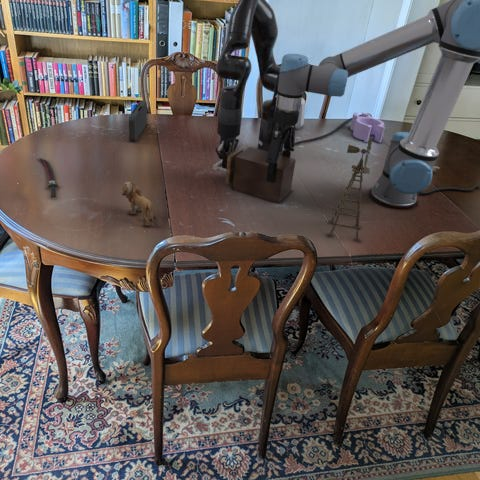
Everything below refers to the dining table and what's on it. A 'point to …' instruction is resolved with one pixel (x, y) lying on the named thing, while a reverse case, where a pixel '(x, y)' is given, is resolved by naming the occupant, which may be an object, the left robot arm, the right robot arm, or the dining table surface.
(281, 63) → the right robot arm
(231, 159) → the drawer
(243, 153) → the cabinet
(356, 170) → the miniature windmill
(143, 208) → the lion figurine
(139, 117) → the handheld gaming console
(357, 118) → the clip
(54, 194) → the sword
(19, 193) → the dining table surface
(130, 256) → the dining table surface
